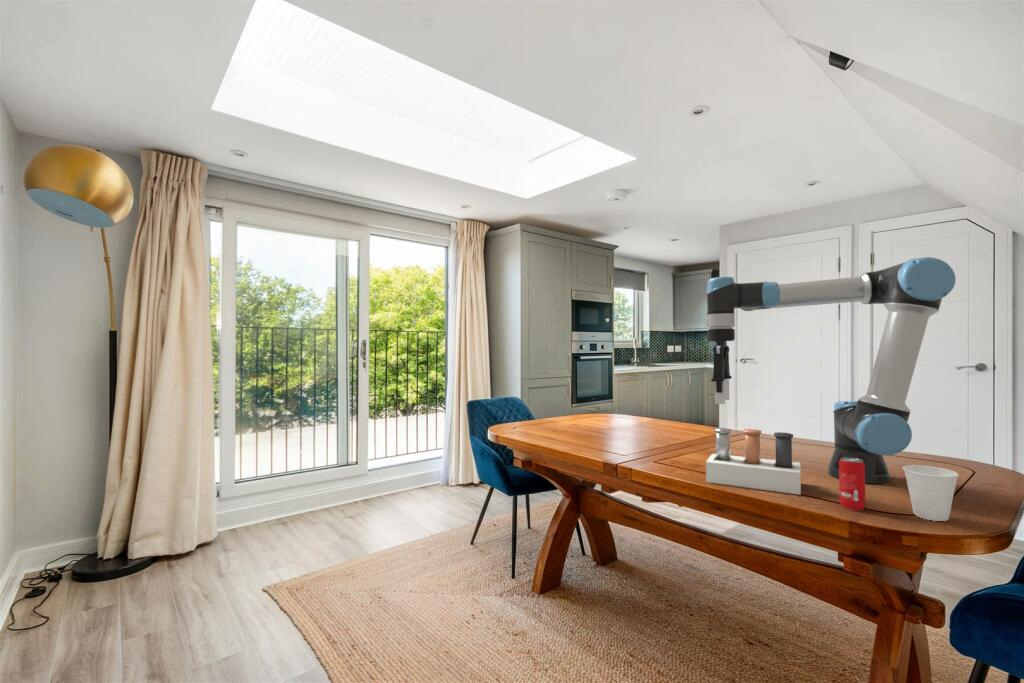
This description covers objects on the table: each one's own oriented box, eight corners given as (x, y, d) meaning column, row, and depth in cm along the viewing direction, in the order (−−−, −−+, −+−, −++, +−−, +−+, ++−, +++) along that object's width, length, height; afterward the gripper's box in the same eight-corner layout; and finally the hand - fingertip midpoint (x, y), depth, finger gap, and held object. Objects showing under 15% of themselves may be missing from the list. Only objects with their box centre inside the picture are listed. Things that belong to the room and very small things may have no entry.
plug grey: (732, 459, 143) (732, 428, 143) (730, 463, 139) (730, 431, 139) (715, 458, 146) (715, 427, 146) (713, 461, 142) (713, 429, 142)
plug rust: (762, 462, 139) (761, 429, 139) (761, 465, 135) (760, 432, 135) (744, 460, 141) (743, 428, 141) (742, 463, 137) (742, 431, 137)
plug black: (793, 466, 135) (793, 433, 135) (793, 470, 131) (793, 436, 131) (774, 464, 137) (774, 431, 137) (773, 468, 133) (773, 434, 133)
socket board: (800, 483, 137) (800, 462, 137) (800, 494, 127) (800, 472, 127) (712, 472, 150) (712, 453, 150) (706, 482, 139) (705, 461, 139)
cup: (914, 522, 107) (913, 474, 107) (896, 507, 116) (895, 463, 116) (969, 527, 103) (968, 478, 103) (946, 512, 113) (945, 466, 113)
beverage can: (834, 504, 119) (833, 457, 119) (853, 503, 120) (852, 456, 120) (851, 511, 114) (850, 462, 114) (870, 510, 114) (870, 461, 114)
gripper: (713, 329, 154) (714, 397, 154) (701, 327, 135) (702, 405, 135) (738, 328, 150) (739, 398, 150) (729, 327, 131) (731, 406, 131)
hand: (722, 401), depth 142 cm, fingers open, 9 cm apart
